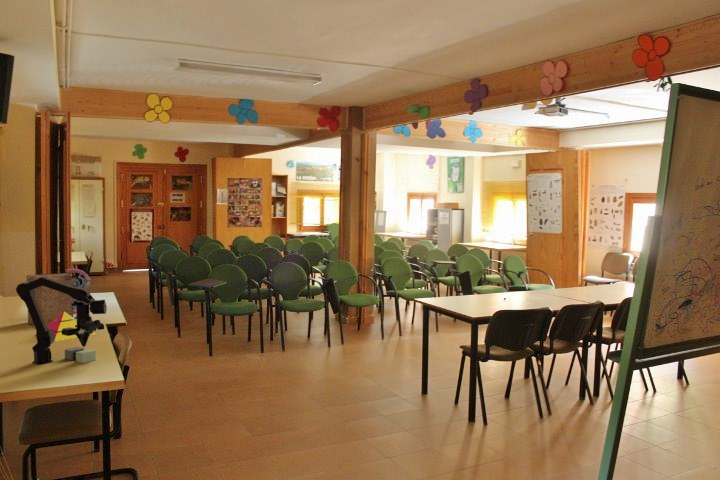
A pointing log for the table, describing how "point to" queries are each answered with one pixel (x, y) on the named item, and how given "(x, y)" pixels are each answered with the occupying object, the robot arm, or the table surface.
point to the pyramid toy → (63, 326)
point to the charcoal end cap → (70, 352)
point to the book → (52, 298)
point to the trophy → (79, 282)
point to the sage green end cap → (85, 356)
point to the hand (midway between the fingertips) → (83, 346)
